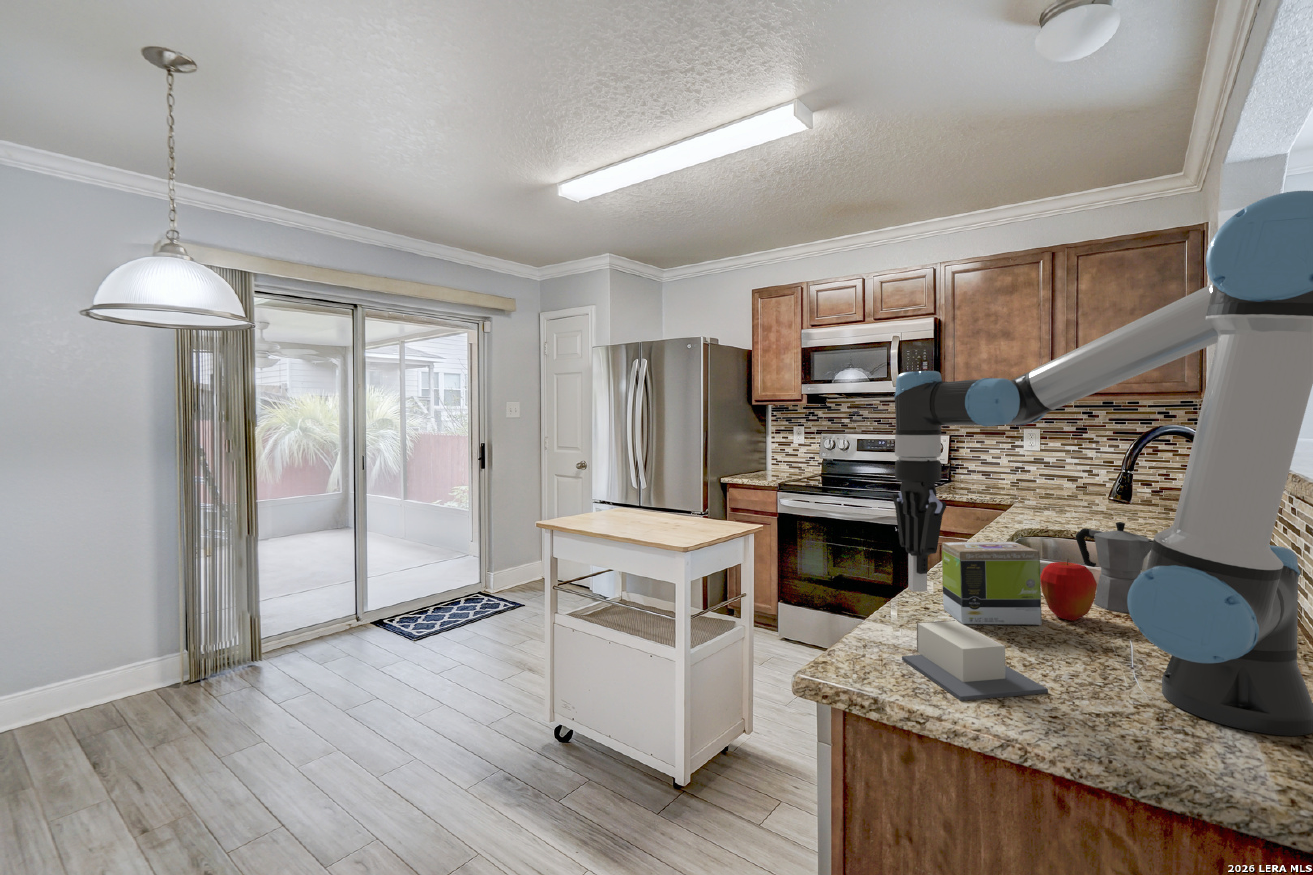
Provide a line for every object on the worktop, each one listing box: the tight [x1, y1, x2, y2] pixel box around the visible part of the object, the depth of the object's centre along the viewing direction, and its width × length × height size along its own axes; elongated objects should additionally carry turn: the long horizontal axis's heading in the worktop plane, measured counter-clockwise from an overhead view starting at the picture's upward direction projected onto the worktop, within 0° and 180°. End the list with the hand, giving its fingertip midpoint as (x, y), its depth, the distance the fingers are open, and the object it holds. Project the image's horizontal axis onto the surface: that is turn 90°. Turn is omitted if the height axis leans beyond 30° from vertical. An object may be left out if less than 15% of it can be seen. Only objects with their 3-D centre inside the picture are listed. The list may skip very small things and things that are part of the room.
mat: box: [901, 654, 1049, 702], centre depth 93 cm, size 15×14×1 cm
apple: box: [1040, 559, 1098, 621], centre depth 119 cm, size 9×9×12 cm
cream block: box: [916, 619, 1006, 682], centre depth 96 cm, size 5×7×12 cm
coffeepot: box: [1075, 521, 1154, 614], centre depth 126 cm, size 15×9×18 cm, turn 25°
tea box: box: [941, 541, 1043, 626], centre depth 120 cm, size 15×10×15 cm, turn 84°
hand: (917, 589), depth 106 cm, fingers closed
